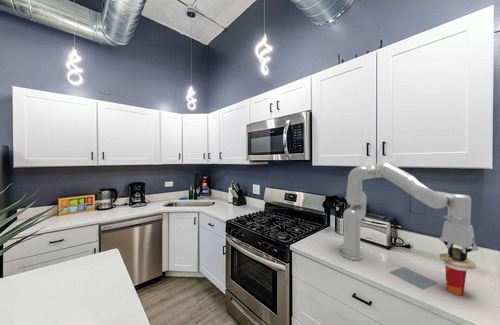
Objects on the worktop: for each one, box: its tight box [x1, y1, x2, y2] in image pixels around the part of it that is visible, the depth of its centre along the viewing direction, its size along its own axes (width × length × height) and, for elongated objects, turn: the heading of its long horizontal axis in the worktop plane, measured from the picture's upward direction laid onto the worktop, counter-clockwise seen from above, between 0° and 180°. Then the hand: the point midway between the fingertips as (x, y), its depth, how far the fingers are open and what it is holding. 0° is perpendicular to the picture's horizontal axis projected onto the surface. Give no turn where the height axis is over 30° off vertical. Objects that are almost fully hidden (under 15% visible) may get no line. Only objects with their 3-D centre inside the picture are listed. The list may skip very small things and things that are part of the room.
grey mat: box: [388, 266, 439, 290], centre depth 106 cm, size 16×14×1 cm
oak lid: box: [439, 247, 477, 270], centre depth 95 cm, size 12×12×6 cm
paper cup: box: [443, 262, 469, 296], centre depth 95 cm, size 8×8×14 cm
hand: (457, 258), depth 95 cm, fingers closed on oak lid, 3 cm apart
